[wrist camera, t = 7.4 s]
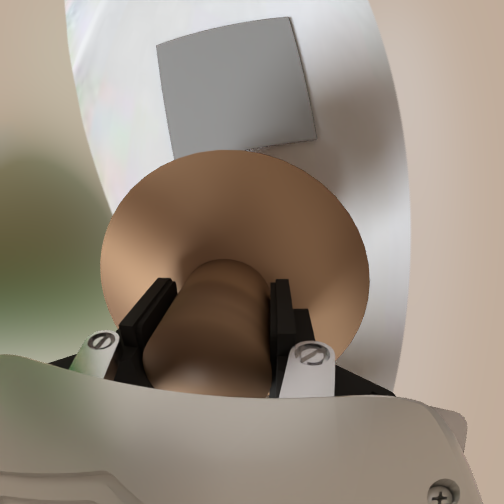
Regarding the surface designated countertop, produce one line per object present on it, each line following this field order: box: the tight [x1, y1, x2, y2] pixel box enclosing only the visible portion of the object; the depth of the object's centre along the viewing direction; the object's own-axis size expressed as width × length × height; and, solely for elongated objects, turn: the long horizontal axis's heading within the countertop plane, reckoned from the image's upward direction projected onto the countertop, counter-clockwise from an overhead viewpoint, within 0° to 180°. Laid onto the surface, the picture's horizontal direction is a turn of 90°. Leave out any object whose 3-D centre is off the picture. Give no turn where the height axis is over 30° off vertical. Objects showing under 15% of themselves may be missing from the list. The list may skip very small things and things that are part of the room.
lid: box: [100, 150, 370, 398], centre depth 11 cm, size 13×13×6 cm
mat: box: [156, 17, 317, 160], centre depth 24 cm, size 14×14×1 cm
